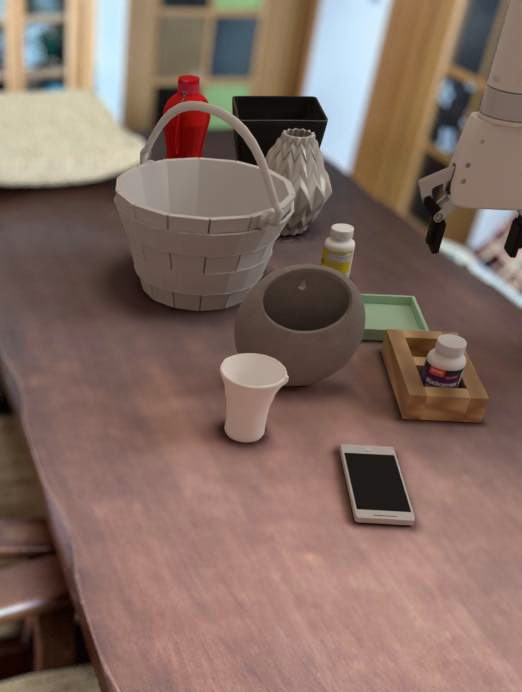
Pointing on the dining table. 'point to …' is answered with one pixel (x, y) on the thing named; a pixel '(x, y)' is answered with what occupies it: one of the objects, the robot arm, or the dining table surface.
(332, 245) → the supplement bottle
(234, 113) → the flower pot
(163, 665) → the dining table surface
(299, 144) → the vase
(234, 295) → the basket
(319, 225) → the dining table surface
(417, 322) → the tray
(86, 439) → the dining table surface
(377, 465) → the smartphone
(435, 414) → the frame
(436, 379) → the pill bottle
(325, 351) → the planter
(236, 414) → the cup
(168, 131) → the water bottle
